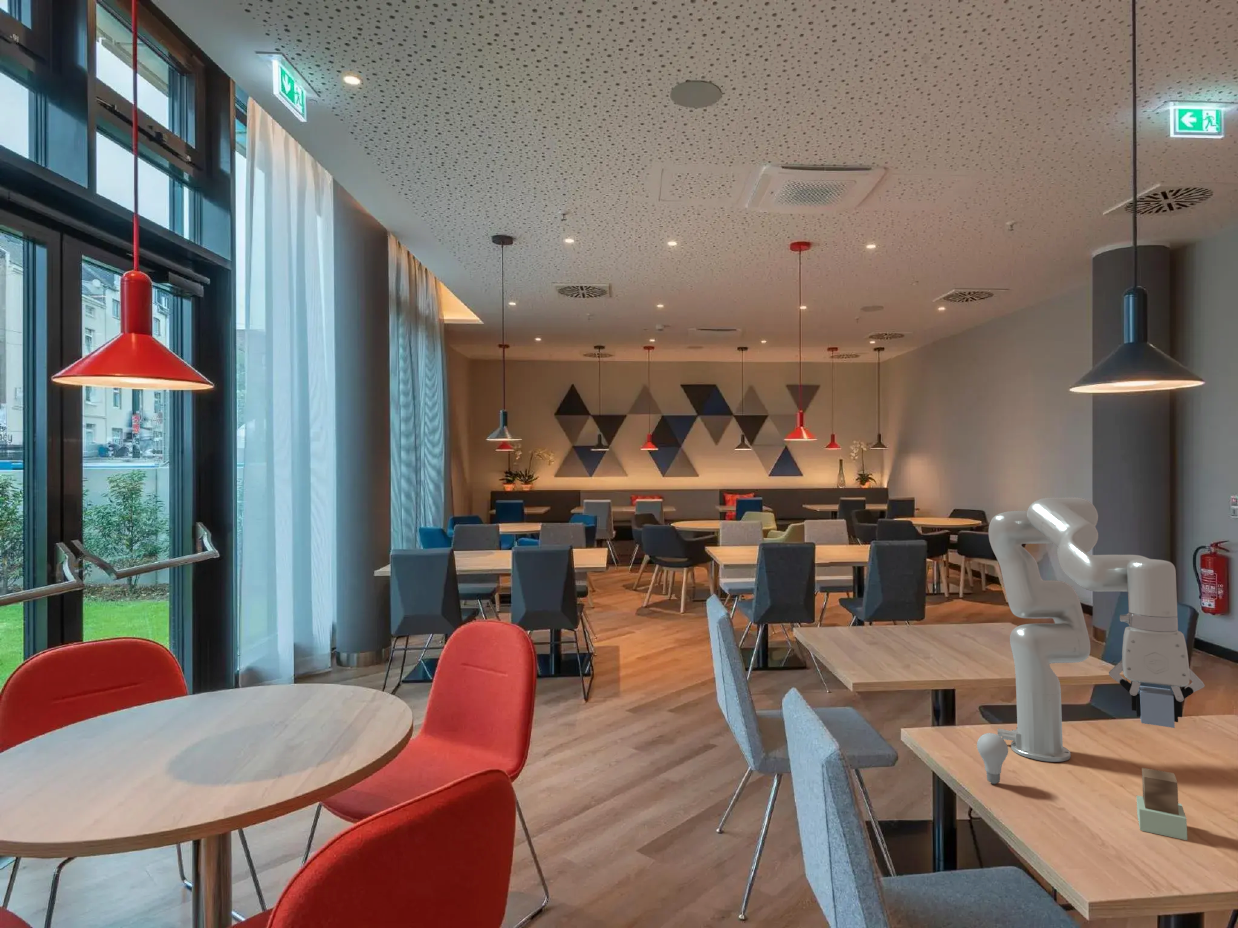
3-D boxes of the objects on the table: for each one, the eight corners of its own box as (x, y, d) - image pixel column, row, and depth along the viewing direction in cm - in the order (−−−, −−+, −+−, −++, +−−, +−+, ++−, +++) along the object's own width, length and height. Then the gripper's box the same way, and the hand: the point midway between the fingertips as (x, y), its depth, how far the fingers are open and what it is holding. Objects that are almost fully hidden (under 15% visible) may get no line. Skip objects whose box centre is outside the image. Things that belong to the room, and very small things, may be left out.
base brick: (1140, 830, 131) (1139, 809, 131) (1137, 815, 137) (1136, 795, 137) (1187, 840, 127) (1186, 818, 127) (1182, 824, 133) (1181, 803, 133)
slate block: (1141, 723, 132) (1140, 691, 132) (1139, 715, 136) (1138, 685, 136) (1174, 727, 129) (1173, 695, 129) (1171, 720, 133) (1170, 689, 134)
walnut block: (1145, 808, 132) (1144, 776, 132) (1143, 798, 136) (1141, 767, 136) (1178, 814, 129) (1177, 782, 129) (1175, 804, 133) (1174, 773, 133)
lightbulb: (1006, 779, 154) (1004, 730, 154) (1012, 791, 148) (1010, 739, 149) (976, 776, 156) (974, 727, 156) (980, 787, 150) (979, 736, 151)
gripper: (1100, 622, 135) (1103, 715, 134) (1213, 631, 126) (1217, 731, 125) (1099, 615, 141) (1102, 704, 141) (1206, 624, 132) (1210, 719, 131)
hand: (1156, 716), depth 133 cm, fingers closed on slate block, 5 cm apart
